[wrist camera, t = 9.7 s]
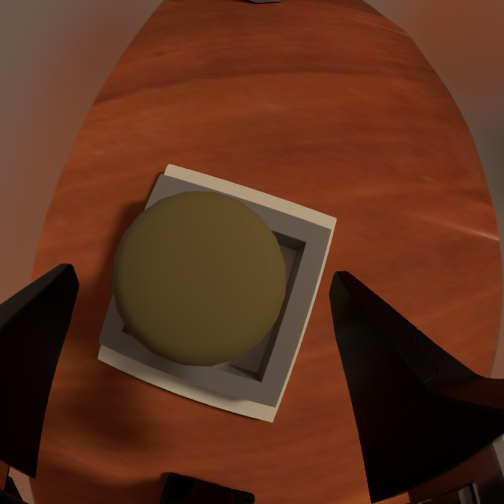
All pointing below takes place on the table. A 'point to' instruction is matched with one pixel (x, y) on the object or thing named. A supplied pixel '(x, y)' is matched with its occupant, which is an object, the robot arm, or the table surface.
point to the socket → (279, 336)
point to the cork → (198, 278)
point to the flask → (261, 0)
